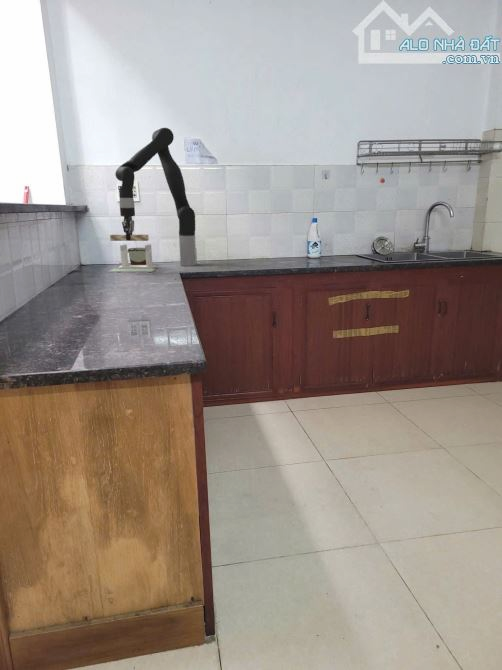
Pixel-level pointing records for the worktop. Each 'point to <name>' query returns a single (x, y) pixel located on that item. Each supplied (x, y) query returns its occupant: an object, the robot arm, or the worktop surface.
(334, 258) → the worktop surface
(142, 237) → the rail
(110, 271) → the mat
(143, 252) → the food container
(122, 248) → the rack
